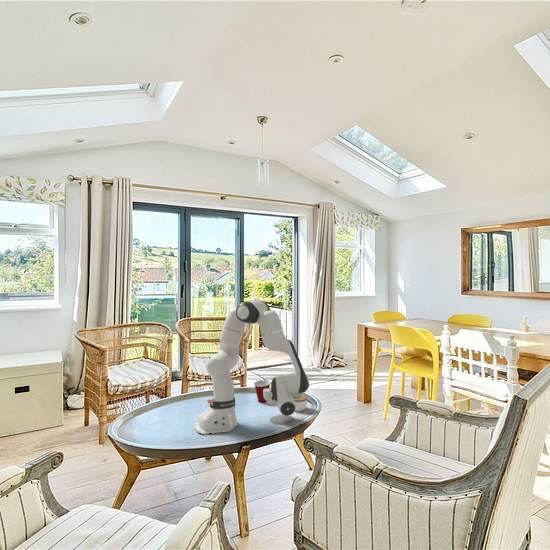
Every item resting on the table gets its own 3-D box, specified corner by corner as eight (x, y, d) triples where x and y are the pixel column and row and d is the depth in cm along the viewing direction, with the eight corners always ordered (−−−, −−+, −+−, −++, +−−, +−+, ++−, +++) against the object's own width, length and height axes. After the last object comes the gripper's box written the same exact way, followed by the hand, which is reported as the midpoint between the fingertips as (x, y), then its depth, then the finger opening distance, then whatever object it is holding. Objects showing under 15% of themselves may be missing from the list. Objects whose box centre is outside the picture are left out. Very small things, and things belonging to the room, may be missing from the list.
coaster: (276, 427, 193) (276, 426, 193) (265, 418, 205) (265, 417, 205) (299, 422, 199) (299, 421, 199) (287, 413, 211) (287, 413, 211)
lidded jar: (307, 406, 221) (307, 391, 221) (307, 413, 211) (307, 397, 210) (289, 406, 222) (289, 390, 222) (288, 413, 212) (288, 397, 212)
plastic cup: (250, 401, 233) (250, 381, 232) (264, 397, 239) (264, 378, 239) (260, 405, 224) (260, 386, 224) (274, 401, 231) (274, 382, 230)
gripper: (304, 390, 190) (299, 382, 204) (264, 391, 188) (262, 383, 202) (303, 403, 190) (299, 394, 204) (264, 403, 188) (262, 394, 202)
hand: (280, 388), depth 203 cm, fingers closed on lid, 3 cm apart
